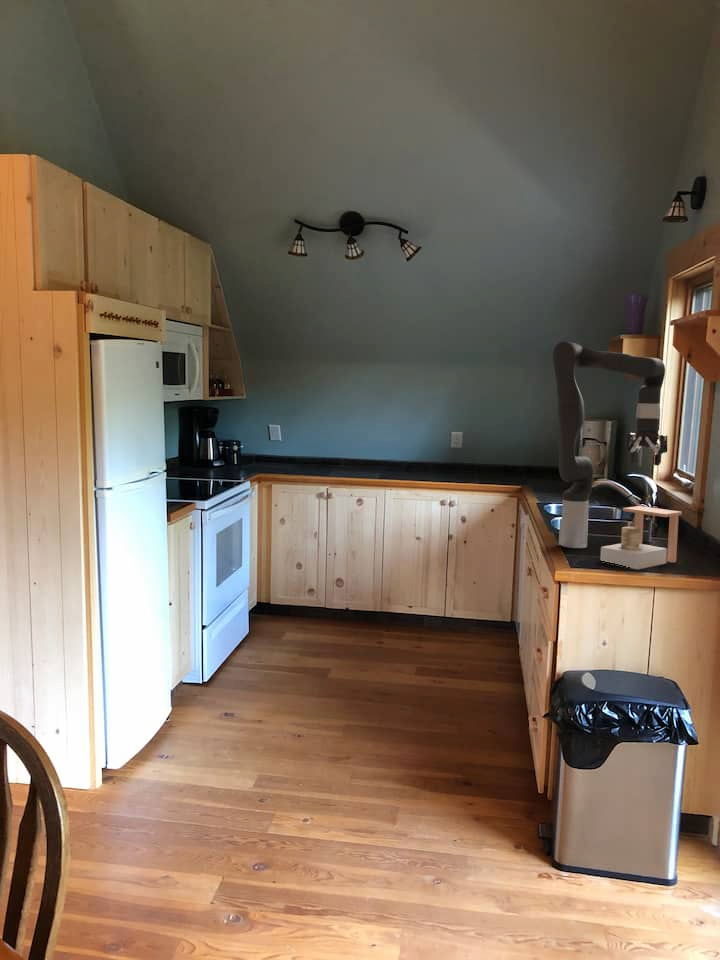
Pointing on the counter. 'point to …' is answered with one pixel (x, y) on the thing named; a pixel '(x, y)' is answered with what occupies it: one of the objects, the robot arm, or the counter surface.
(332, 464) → the counter surface
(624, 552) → the socket block
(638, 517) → the wooden arch frame
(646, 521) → the supplement bottle
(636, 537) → the peg
